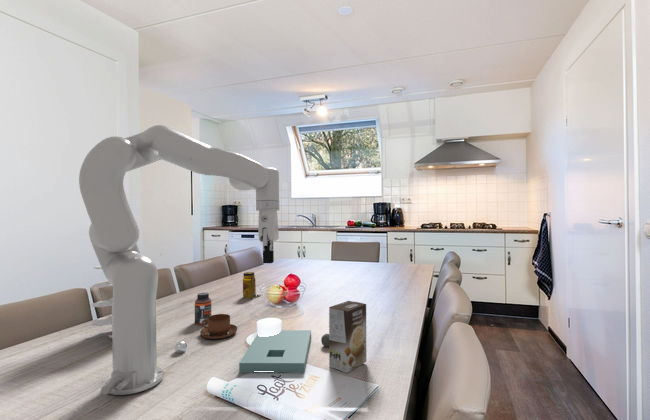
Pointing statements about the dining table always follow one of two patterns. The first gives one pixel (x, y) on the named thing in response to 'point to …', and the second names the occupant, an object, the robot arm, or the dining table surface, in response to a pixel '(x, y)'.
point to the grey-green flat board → (278, 352)
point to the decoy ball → (325, 340)
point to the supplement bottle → (202, 308)
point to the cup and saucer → (218, 327)
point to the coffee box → (347, 336)
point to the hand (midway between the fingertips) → (268, 262)
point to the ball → (180, 347)
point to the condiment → (249, 285)
